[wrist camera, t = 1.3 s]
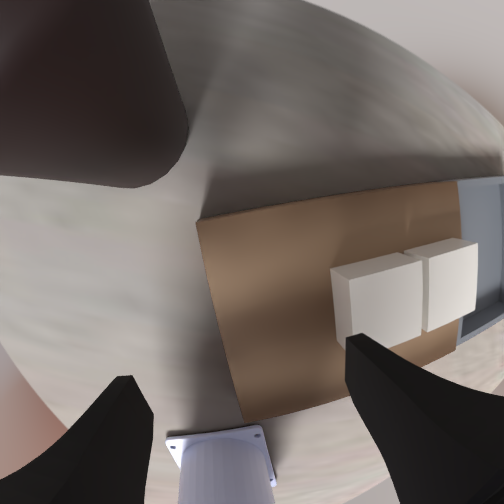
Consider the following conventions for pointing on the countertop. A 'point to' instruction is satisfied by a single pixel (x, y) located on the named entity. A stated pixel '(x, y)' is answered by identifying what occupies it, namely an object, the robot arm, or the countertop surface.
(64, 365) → the countertop surface
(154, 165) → the bottle
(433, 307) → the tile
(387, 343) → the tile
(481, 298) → the box
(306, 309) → the walnut board
